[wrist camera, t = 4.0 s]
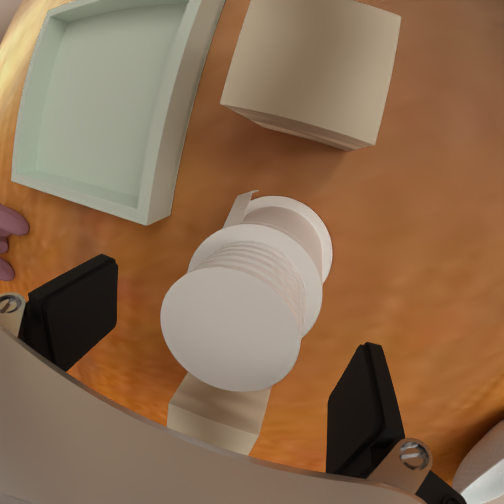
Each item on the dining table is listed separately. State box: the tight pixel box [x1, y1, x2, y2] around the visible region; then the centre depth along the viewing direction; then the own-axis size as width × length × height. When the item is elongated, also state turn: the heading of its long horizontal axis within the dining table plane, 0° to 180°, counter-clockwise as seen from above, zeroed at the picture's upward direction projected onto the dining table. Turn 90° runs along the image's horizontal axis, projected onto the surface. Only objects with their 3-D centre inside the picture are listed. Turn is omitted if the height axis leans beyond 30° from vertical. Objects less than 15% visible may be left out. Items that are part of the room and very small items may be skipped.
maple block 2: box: [220, 0, 401, 152], centre depth 11 cm, size 5×5×8 cm
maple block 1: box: [167, 372, 272, 456], centre depth 18 cm, size 5×5×8 cm
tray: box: [11, 0, 226, 226], centre depth 15 cm, size 16×16×3 cm
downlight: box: [160, 190, 332, 392], centre depth 13 cm, size 8×7×10 cm
